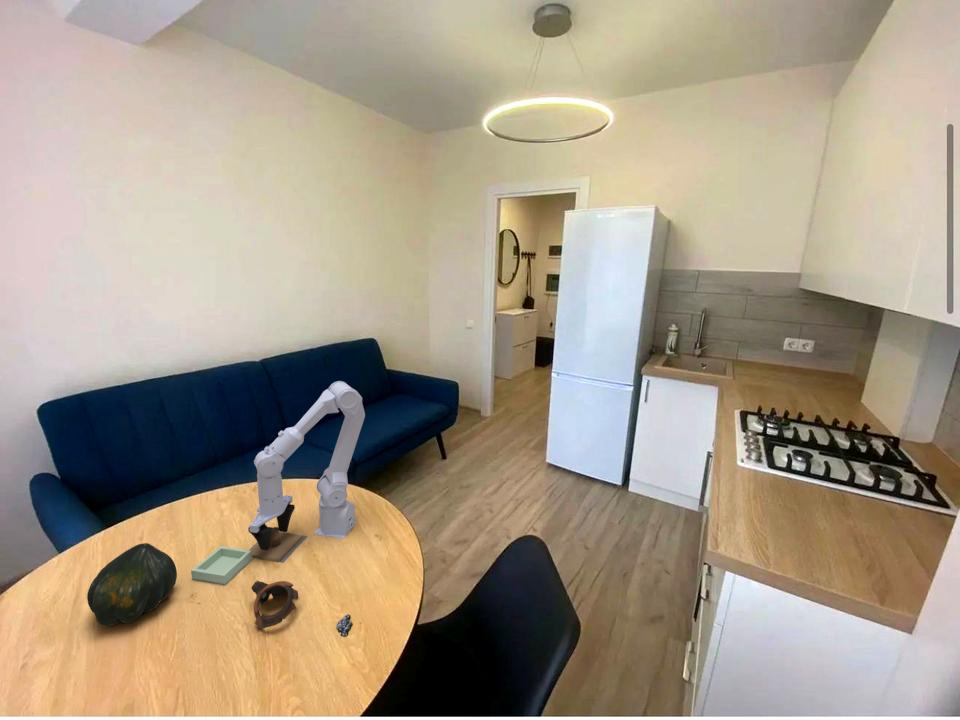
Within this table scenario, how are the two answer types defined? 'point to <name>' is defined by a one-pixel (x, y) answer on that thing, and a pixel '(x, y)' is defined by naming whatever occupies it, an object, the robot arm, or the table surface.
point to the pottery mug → (276, 591)
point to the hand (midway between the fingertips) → (274, 539)
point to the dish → (221, 565)
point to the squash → (131, 585)
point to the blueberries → (344, 626)
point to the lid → (276, 546)
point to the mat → (291, 550)
